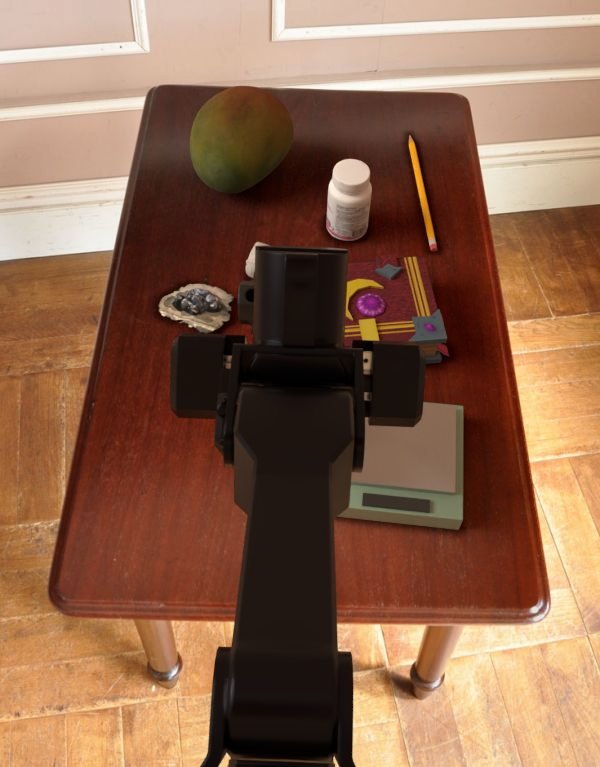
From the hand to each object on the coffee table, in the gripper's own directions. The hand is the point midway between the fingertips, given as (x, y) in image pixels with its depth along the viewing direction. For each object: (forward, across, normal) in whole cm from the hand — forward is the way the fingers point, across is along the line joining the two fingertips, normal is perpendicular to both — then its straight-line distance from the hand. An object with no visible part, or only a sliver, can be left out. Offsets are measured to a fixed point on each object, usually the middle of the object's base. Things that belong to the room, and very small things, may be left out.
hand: (298, 360), depth 72 cm
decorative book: (+18, -7, -1) cm, 20 cm away
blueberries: (+19, +11, -2) cm, 22 cm away
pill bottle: (+28, -5, -11) cm, 31 cm away
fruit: (+34, +8, -16) cm, 39 cm away
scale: (+7, -10, +11) cm, 16 cm away
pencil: (+33, -14, -15) cm, 39 cm away
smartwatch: (+23, +5, -6) cm, 24 cm away
